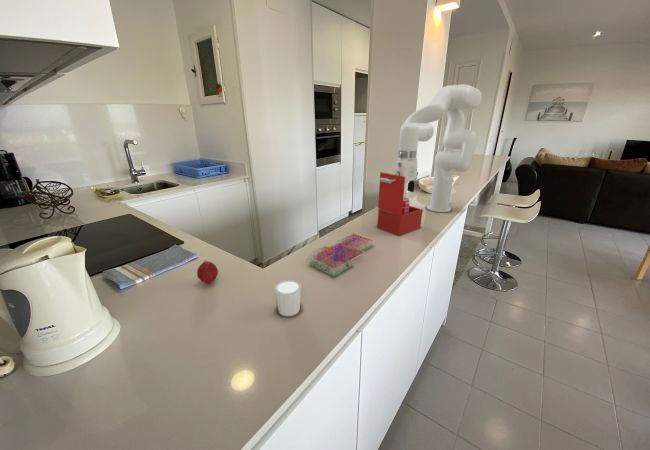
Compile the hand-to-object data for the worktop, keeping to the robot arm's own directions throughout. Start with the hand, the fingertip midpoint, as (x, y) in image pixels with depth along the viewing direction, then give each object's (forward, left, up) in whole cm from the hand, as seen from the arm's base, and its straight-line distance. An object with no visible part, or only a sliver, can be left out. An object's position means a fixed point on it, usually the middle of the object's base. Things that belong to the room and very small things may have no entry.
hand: (403, 193), depth 125 cm
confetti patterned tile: (+42, +6, -16) cm, 45 cm away
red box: (+3, +1, -16) cm, 16 cm away
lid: (+10, +1, +2) cm, 10 cm away
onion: (+87, -5, -16) cm, 88 cm away
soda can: (+2, +1, -15) cm, 15 cm away
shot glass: (+74, +21, -16) cm, 78 cm away
